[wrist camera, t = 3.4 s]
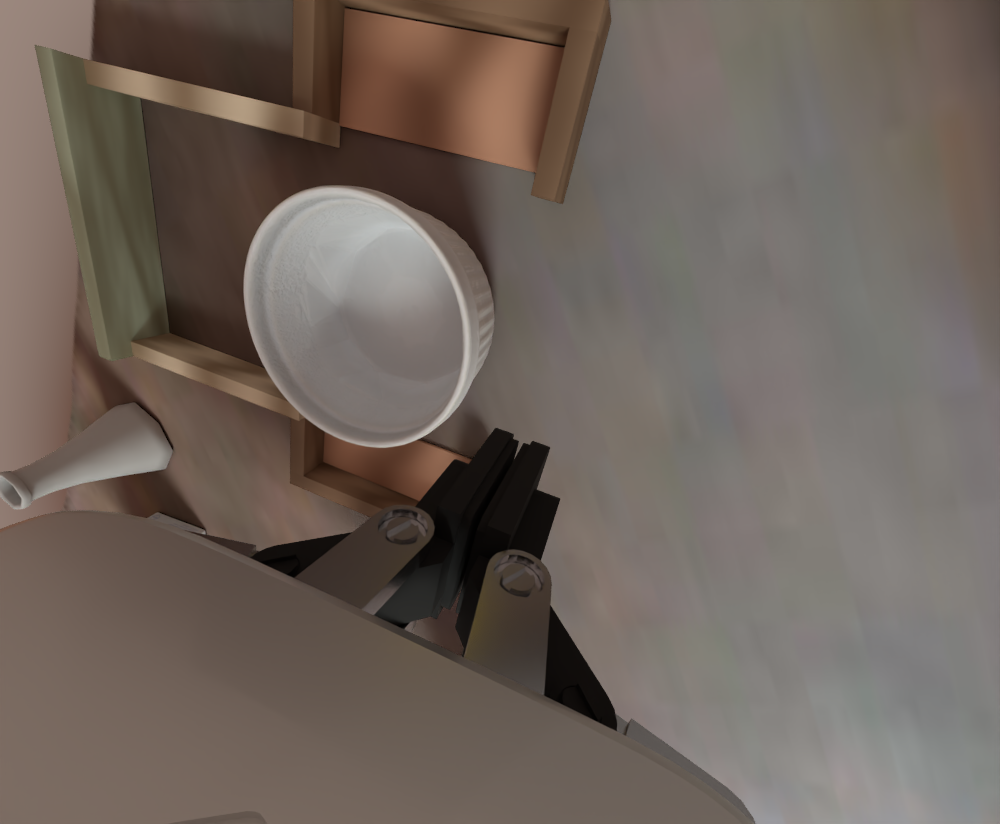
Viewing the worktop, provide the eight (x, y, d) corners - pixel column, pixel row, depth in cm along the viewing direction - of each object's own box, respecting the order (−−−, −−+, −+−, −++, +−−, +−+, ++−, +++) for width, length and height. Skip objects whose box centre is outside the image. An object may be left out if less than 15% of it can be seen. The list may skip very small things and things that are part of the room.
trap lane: (611, 20, 19) (602, -35, 15) (475, 536, 33) (452, 577, 29) (104, -64, 25) (0, -121, 21) (169, 409, 38) (114, 430, 34)
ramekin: (452, 440, 30) (403, 492, 24) (304, 336, 31) (220, 361, 25) (554, 276, 24) (523, 290, 18) (366, 149, 25) (273, 120, 19)
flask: (135, 388, 39) (-15, 434, 30) (186, 454, 40) (57, 516, 31) (103, 419, 42) (-41, 469, 33) (152, 479, 43) (25, 542, 34)
